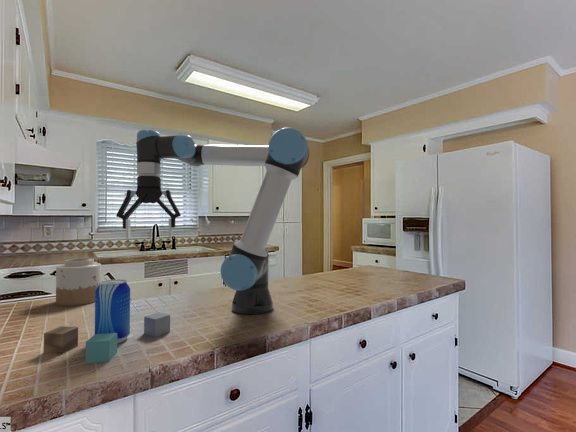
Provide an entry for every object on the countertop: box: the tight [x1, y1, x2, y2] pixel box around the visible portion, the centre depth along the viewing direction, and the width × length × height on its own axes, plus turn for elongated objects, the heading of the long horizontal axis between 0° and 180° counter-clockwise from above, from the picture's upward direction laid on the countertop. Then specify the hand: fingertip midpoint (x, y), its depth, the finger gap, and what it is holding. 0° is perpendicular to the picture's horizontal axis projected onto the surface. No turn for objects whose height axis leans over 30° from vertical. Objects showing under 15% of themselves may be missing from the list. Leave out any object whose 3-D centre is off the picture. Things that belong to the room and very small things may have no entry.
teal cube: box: [85, 333, 118, 364], centre depth 75 cm, size 5×5×5 cm
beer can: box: [94, 278, 131, 345], centre depth 86 cm, size 8×8×16 cm
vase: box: [55, 257, 103, 307], centre depth 127 cm, size 15×15×17 cm
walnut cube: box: [43, 325, 79, 355], centre depth 80 cm, size 5×5×5 cm
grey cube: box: [143, 312, 171, 338], centre depth 92 cm, size 5×5×5 cm
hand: (149, 238), depth 108 cm, fingers open, 13 cm apart
